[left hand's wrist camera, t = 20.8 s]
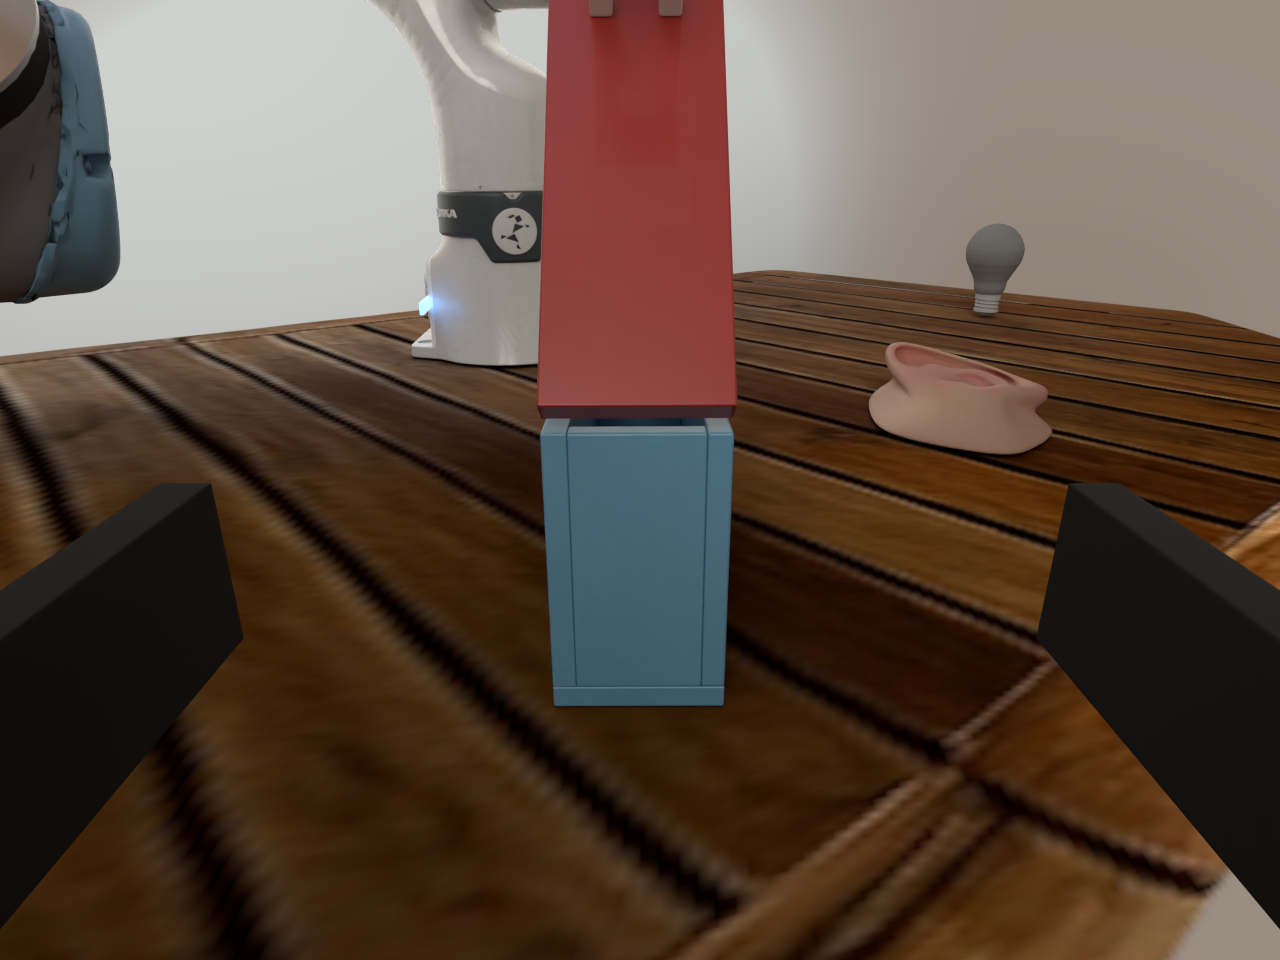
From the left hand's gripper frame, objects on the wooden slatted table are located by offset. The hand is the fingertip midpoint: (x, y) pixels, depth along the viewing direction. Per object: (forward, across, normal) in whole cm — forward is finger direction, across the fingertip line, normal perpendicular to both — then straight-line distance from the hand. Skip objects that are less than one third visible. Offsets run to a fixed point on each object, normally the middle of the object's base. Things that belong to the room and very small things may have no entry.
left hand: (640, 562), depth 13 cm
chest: (+17, 0, -10) cm, 20 cm away
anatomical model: (+40, +21, -10) cm, 46 cm away
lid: (+15, 0, +6) cm, 16 cm away
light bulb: (+81, +40, -10) cm, 91 cm away
